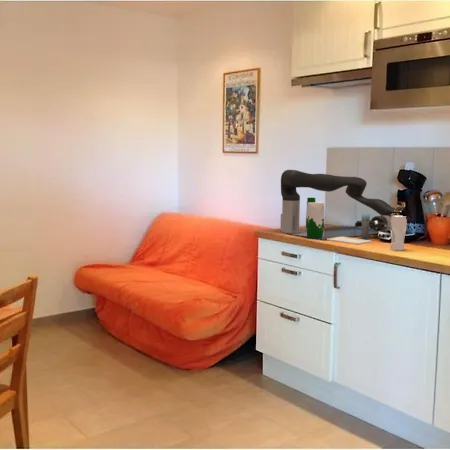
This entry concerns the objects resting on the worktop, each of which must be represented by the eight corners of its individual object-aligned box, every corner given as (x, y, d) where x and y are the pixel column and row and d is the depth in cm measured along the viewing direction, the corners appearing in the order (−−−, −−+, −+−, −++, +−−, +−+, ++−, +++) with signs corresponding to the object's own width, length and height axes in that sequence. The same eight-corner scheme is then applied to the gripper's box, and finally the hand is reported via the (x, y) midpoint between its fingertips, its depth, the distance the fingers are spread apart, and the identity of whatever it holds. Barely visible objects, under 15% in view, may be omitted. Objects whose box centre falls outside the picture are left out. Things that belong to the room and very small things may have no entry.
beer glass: (390, 247, 262) (391, 214, 260) (406, 248, 260) (407, 215, 258) (388, 250, 256) (389, 216, 254) (404, 251, 253) (406, 217, 251)
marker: (359, 239, 286) (360, 214, 284) (363, 238, 288) (364, 213, 286) (365, 240, 283) (366, 214, 281) (370, 239, 285) (371, 214, 284)
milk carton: (305, 235, 296) (306, 197, 293) (323, 236, 295) (324, 197, 292) (306, 238, 287) (307, 198, 284) (324, 238, 286) (325, 198, 284)
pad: (326, 240, 283) (326, 238, 283) (341, 237, 291) (341, 236, 291) (357, 244, 270) (357, 243, 270) (372, 241, 278) (372, 240, 278)
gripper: (370, 214, 299) (351, 216, 288) (394, 216, 288) (375, 219, 277) (369, 228, 300) (350, 231, 289) (393, 231, 289) (375, 234, 278)
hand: (363, 225), depth 283 cm, fingers open, 8 cm apart
